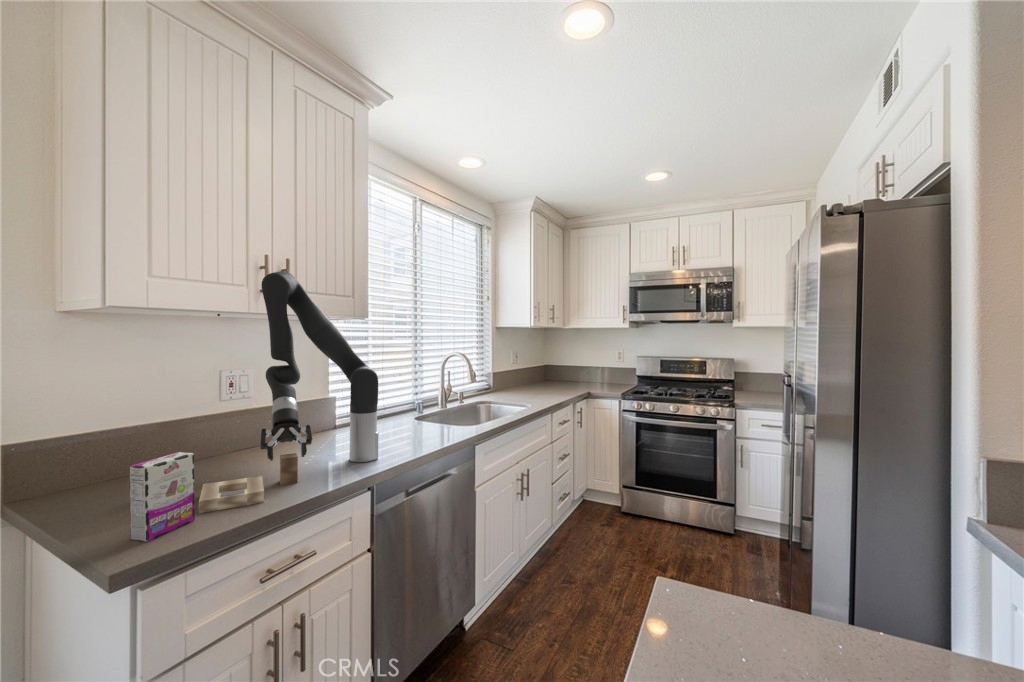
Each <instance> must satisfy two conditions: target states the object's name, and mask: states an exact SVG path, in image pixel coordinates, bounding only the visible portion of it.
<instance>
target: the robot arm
mask: <svg viewBox="0 0 1024 682" xmlns="http://www.w3.org/2000/svg"><path fill="white" fill-rule="evenodd" d="M261 291H262V296H263V300H264V305H265V310H266V314H267V315H266V316H267V320H268V329H269V341H270V342H269V344H270V357H271V358H272V359H273V360H275V361H281V362H285V363H286V364H282V365H272V366H270V367H267V369H266V371H265V380H266V382H267V384H268V386H269V388H270V390H271V395H272V397H271V398H272V407H271V417H272V418H271V419H272V420H271V421H272V427H271V429H266V428H261V431H260V433H261V434H260V446H259V447H260V450H266V451H267V452H266V453H267V454H266V457H267V460H269V461H270V462H272V461H274V447H275V446H277V445H278V444H279V442H280V443H286V442H289V443H291V442H293V441H294V442H295V444H298V445H300V452H301V453H300V455H301V456H300V457H301V458H304V457H305V456H306V455H307V452H308V451H307V450H308V448H307V446H308V445H312V442H313V435H312V429H311V425H310V424H307V425H306V426H300V420H299V410H298V409H299V408H298V402H297V391H296V388H295V387H294V386H292V385H297V384H298V382H299V381H300V380H301V379H300V378H301V373H300V369H299V367H298V364H297V361H296V358H295V357H296V356H295V351H294V334H293V330H292V329H293V328H292V327H291V324H290V321H289V317H288V307H290V309H292V310H293V312H294V313H295V314H296V317H297V319H298V321H299V323H300V325H301V328H302V329H303V330H302V331H303V332H304V334H305V335H306V336H307V338H308V339H309V340H310V341H311V342H312V344H313V345H314V346H315V347H316V348H317V349H318V350H319V351H320V352H321V353H323V355H325V356H326V357H327V358H328V359H329V360H331V361H332V362H333V363H334V364H336V366H337V367H338V368H340V370H341V371H342V373H344V376H345V377H346V378H347V379H348V381H349V383H350V400H349V402H350V405H349V455H348V456H349V461H350V462H353V463H368V462H372V461H375V460H379V432H378V402H379V377H378V374H377V373H376V371H375V370H374V369H372V368H371V367H370V366H369V365H367V364H366V363H365V362H364V361H363V360H362V359H361V358H360V357H359V356H358V355H357V354H356V353H355V351H354V350H353V349H352V347H351V345H350V344H349V342H348V340H347V339H346V337H344V335H343V334H342V333H341V331H340V330H339V329H338V327H336V325H335V324H334V323H333V322H332V321H331V320H330V319H329V318H328V317H327V316H326V314H325V313H324V312H323V310H322V309H320V308H319V306H317V304H316V303H315V302H314V301H313V300H312V298H311V297H310V295H308V293H307V291H305V289H304V288H303V286H302V284H301V283H300V281H299V280H298V278H297V277H296V276H294V275H293V274H292V273H290V272H288V271H275V272H270V273H268V274H266V275H265V276H264V277H263V279H262V281H261ZM301 432H302V433H303V434H304V435H305V437H306V439H305V438H304V437H303V436H302V435H301V434H300V433H301ZM269 435H271V436H272V438H271V440H270V441H269V442H268V443H267V442H266V438H268V437H269Z"/></svg>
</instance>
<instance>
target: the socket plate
mask: <svg viewBox="0 0 1024 682" xmlns="http://www.w3.org/2000/svg"><path fill="white" fill-rule="evenodd" d="M264 502H265V487H264V480H263V475H258V476H251V477H243V478H237V479H231V480H223V481H216V482H209V483H203V484H202V488H201V492H200V495H199V500H198V513H199V514H202V513H208V512H215V511H221V510H227V509H231V508H236V507H244V506H249V505H254V504H261V503H264Z"/></svg>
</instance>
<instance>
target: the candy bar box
mask: <svg viewBox="0 0 1024 682" xmlns="http://www.w3.org/2000/svg"><path fill="white" fill-rule="evenodd" d="M129 501H130V502H129V503H130V506H129V508H130V509H129V510H130V540H132V541H135V542H136V541H137V542H145V543H146V542H147V543H148V542H151V541H153V540H155V539H157V538H160V537H162V536H164V535H166V534H169V533H170V532H172V531H175V530H178V529H179V528H181V527H184V526H185V525H187V524H191V523H192V522H194V521H195V520H196V516H195V515H196V514H195V513H196V512H195V504H196V503H195V453H193V452H187V451H184V452H183V451H177V452H174V453H171V454H167V455H163V456H160V457H156V458H153V459H149V460H146V461H141V462H140V463H139V462H138V463H135V464H133V465H129Z"/></svg>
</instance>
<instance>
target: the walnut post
mask: <svg viewBox="0 0 1024 682" xmlns="http://www.w3.org/2000/svg"><path fill="white" fill-rule="evenodd" d="M298 457H299V456H298V454H297V453H296V452H294V453H285V454H280V455H279V483H280V486H286V485H293V484H298V477H299V476H298V473H299V472H298V470H299V468H298V462H299V460H298Z"/></svg>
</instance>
